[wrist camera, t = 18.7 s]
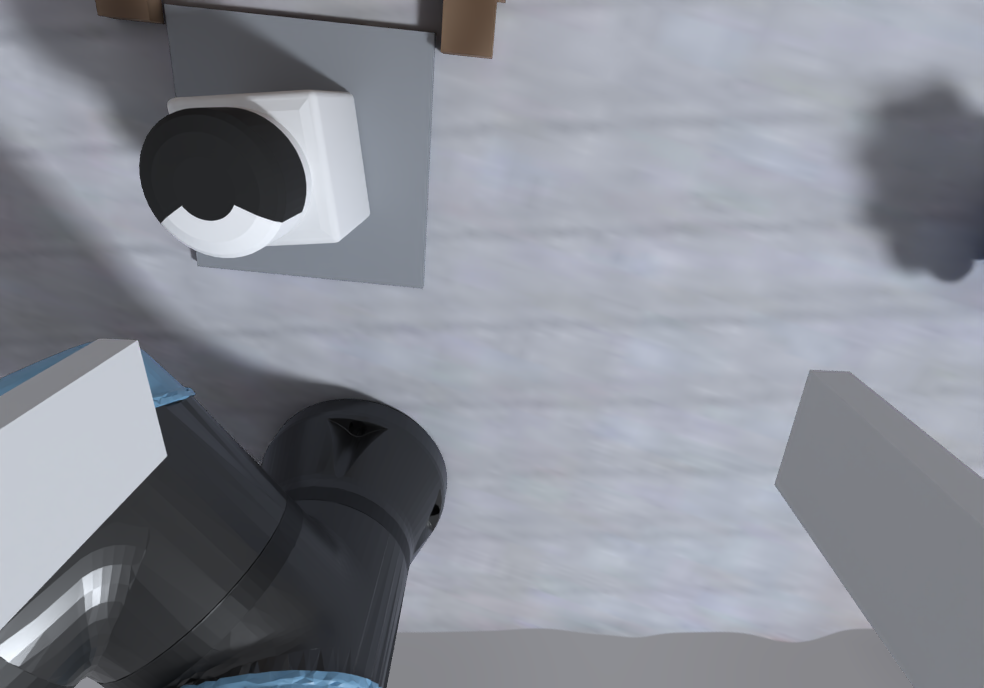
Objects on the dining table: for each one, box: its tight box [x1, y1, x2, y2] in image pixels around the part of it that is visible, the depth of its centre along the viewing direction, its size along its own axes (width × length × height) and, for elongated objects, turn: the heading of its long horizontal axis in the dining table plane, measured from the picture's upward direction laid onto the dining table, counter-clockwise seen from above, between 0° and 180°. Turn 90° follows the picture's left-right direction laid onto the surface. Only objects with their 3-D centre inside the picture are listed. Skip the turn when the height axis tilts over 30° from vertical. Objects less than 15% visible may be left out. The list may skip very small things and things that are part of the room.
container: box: [139, 90, 370, 258], centre depth 30 cm, size 8×8×13 cm
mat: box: [164, 4, 435, 288], centre depth 36 cm, size 16×16×1 cm
